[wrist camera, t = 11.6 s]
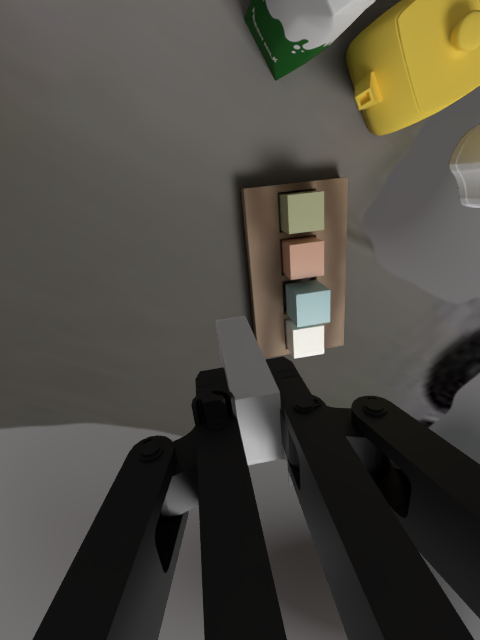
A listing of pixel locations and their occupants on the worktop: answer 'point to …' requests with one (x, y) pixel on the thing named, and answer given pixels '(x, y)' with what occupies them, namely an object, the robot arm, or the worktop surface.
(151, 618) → the robot arm
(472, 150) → the jar
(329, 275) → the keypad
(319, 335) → the key cream
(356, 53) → the teapot
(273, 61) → the milk carton
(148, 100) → the worktop surface
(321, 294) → the key teal
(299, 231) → the key olive
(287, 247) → the key terracotta
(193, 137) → the worktop surface
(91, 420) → the worktop surface
